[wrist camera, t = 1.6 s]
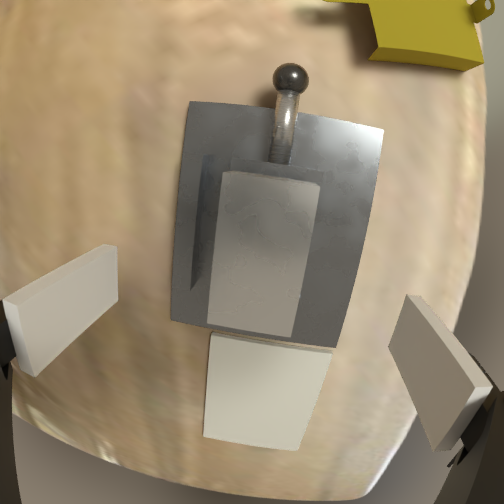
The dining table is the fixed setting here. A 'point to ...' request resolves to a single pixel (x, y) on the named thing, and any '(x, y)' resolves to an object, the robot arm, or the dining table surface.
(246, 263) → the gray rectangular block
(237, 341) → the mat
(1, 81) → the dining table surface
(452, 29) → the bracket
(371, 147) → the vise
